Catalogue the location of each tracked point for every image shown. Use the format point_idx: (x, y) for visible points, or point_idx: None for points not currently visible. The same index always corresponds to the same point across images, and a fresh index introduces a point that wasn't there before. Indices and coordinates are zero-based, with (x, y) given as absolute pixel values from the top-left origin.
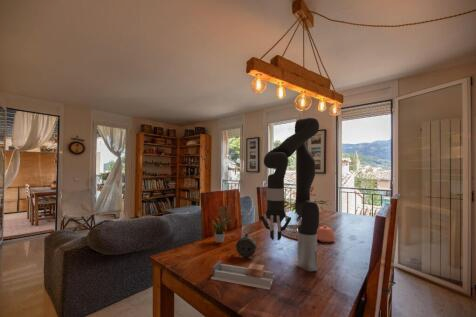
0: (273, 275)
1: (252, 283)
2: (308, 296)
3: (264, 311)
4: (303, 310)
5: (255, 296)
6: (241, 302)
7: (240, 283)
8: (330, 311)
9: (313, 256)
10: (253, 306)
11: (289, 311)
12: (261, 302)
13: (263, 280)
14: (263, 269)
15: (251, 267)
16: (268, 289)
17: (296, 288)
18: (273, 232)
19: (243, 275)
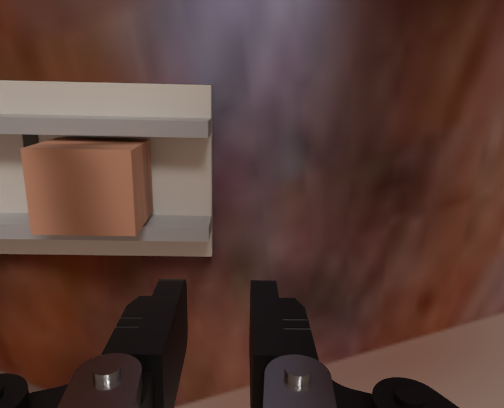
0: (209, 122)
1: None
2: (411, 227)
3: (219, 389)
4: (378, 337)
5: None
6: None
7: (39, 248)
8: (492, 310)
9: None
10: None
11: (319, 360)
12: (193, 339)
13: (165, 239)
14: (137, 167)
15: (51, 216)
16: (205, 255)
17: (352, 169)
18: (170, 393)
19: (28, 233)
